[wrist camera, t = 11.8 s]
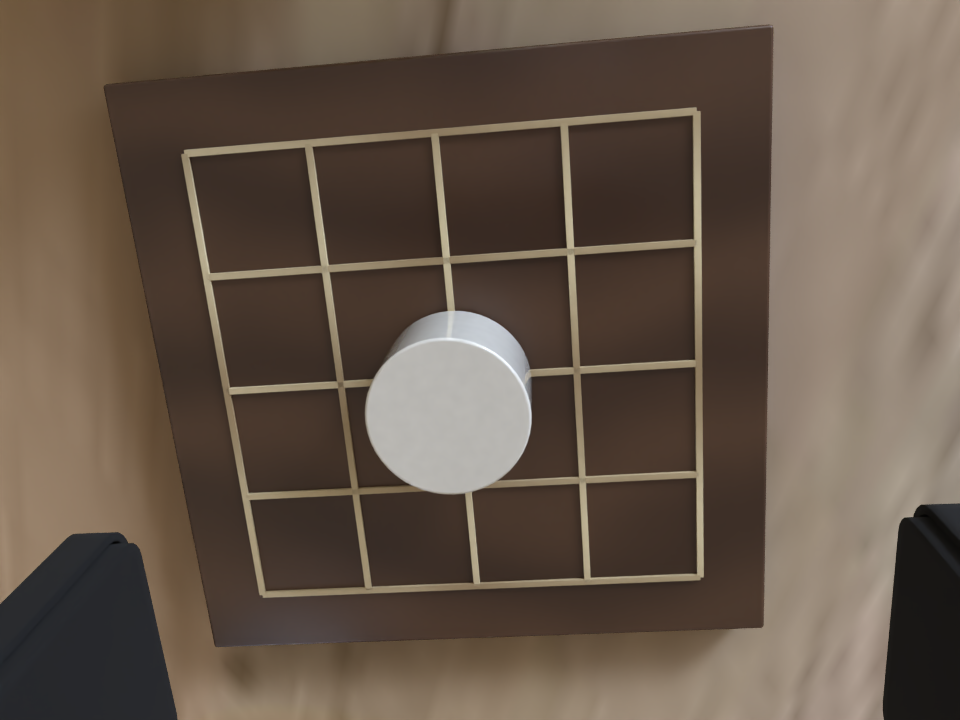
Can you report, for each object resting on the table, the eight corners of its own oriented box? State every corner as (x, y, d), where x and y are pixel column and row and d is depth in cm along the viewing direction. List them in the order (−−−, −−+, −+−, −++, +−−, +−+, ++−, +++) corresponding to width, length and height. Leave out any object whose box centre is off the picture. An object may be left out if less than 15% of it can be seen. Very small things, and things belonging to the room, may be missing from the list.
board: (121, 84, 25) (99, 84, 23) (762, 27, 23) (775, 23, 22) (226, 626, 30) (212, 650, 28) (754, 607, 28) (765, 631, 27)
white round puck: (374, 315, 25) (354, 343, 22) (526, 304, 24) (525, 332, 22) (391, 455, 26) (374, 499, 23) (536, 447, 26) (536, 491, 23)
